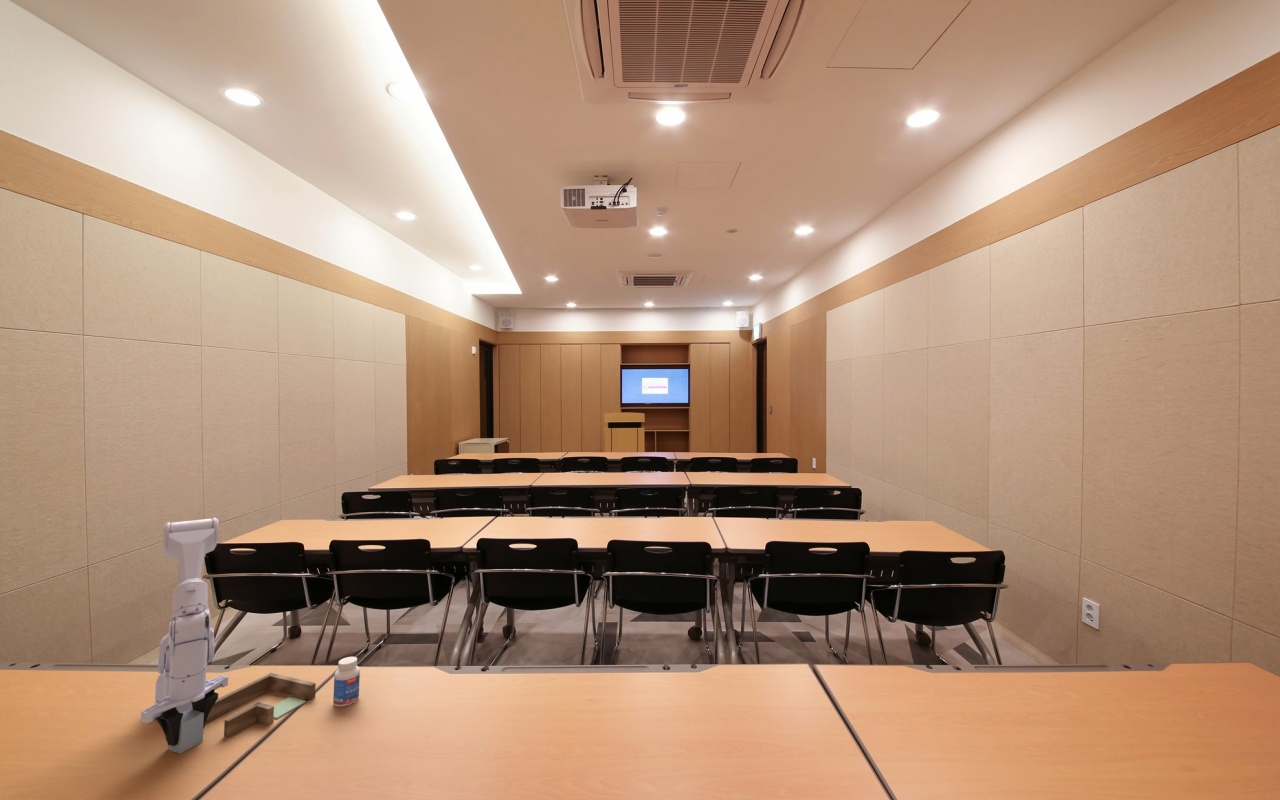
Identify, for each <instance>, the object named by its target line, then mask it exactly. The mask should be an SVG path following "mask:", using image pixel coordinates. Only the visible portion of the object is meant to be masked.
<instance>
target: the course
mask: <svg viewBox="0 0 1280 800" xmlns="http://www.w3.org/2000/svg"><path fill="white" fill-rule="evenodd" d="M316 685H317V684H316V682H312V681H308V680H305V679H299V678H295V677H290V676H285V675H283V674H278V673H273V672H270V673H268V674H266V675H264V676H262V677H260V678H258V679H257V678H256V679H255V680H253V681H251V682H249V683H248V684H245V685H243V686H241V687H239V688H237V689H234V690H233V691H231V692H228V693H227V694H225V695H223V696H220V697H218V699H217V700H216V702H215V703H214V705H213V707H212V709H211V711H210V713H209V715H208V717H207V720H206V723H208V722H210V721H212V720H214V719H216V718H218V717H220V716H222V715H224V714H226V713H228V712H230V711H231V710H233V709H235V708H237V707H240V706H241V705H243V704H245V703H247V702H248V701H251V700H252V699H254V698H256V697H259V696H261V695H262V694H264V693H266V692H269V691H272V692H275V693H280V694H283V695H288V696H292V697H295V698H296V697H297V698H299V699H304V700H309V701H312V700H314V699H315V698H316ZM274 719H275V718H274V705H270V704H268V703H263V702H259V701H258V702H255V703H253V704H251V705H250V706H248V707H247V708H244V709H243V710H240V711H238V712H237V713H235V714H233V715H231V716H229V717H227V718H225V719H224V721H223V724H224V725H223V726H224V727H223V729H224V730H223V737H225V738H230V737H231V736H233V735H235V734H237V733H238V732H240V731H242V730H243V729H246V728H247V727H249V726H251V725H253V724H255V723H258V724H263V725H267V726H269V725H270V724H272V723H274Z"/></svg>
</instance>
